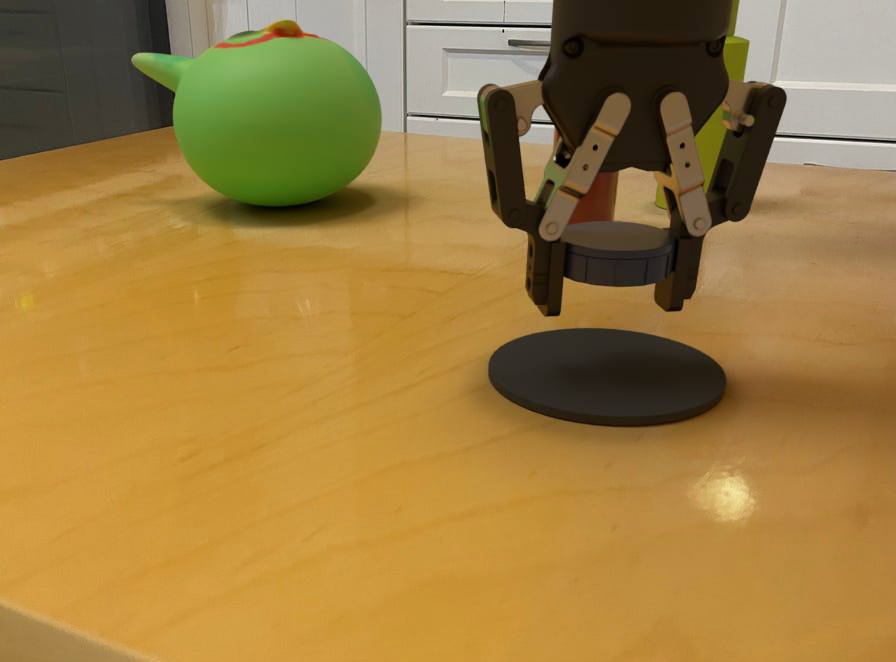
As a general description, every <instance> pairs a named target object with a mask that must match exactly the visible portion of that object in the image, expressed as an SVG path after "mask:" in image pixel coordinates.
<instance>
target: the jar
mask: <svg viewBox="0 0 896 662" xmlns="http://www.w3.org/2000/svg"><path fill="white" fill-rule="evenodd" d="M559 137H560V135H559V133H558V131H557V130H556V128H555V126H554V125H553V139H552V140H553V141H552V151H553V150H554V148H555V146H556V144H557V142H558V139H559ZM567 154H568V153H567ZM567 154H566V155H565V157H566V156H567ZM584 167H585V165H584V166H583V168H584ZM619 176H620V171H617V172H608V173H597V175H596V177H595V179H594V181H593V183H592V185H591V187H590V189H589V191H588V192H587V194H586V195H585V196H584V197H583V198H581V199H580V201H579V202H578V204H577V206H576V208H575V210H574V212H573V214H572V216H571V218H570V220H569V222H568V224H567V226H568V225H572V224H577V223H583V222H595V221H615V218H616V217H615V216H616V208H617V198H618V188H619V187H618V186H619V178H620V177H619Z"/></svg>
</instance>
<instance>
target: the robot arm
mask: <svg viewBox="0 0 896 662" xmlns="http://www.w3.org/2000/svg"><path fill="white" fill-rule="evenodd" d="M732 5H733V0H552V11H551V26H550V27H551V28H550V44H549V51H548V56H547V58H546V61H545V63H544V65H543V67H542V68H541V70H540V72H539V74H538V75H537V79H534V80H529V81H524V82H519V83H516V84H511V85H506V86H499V85H497V84H496V83H486V84H484V85H483V86H481V87H480V88H479V90H478V93H477V95H476V103H477V110H478V111H477V112H478V119H479V126H480V134H481V140H482V148H483V155H484V162H485V172H486V178H487V185H488V193H489V200H490V201H489V202H490V208H491V210H492V212H493V213H494V214H495V215H496V217H497V218H498V219H499V220H500V221H501V222H502V223H503V224H504V226H506V227H507V228H509V229H517V230H519V231H521V232H525V233H526V234H527V251H526V269H525V283H524V288H525V291H526V293H527V297H528V298H529V299H530V301H531V302H532V303H533V305H534V306H536V307H537V309H538V311H539V312H540V313H541V315H542V316H543V317H545V318H547V317H548V318H549V317H560V316H561V313H562V302H563V291H564V278H565V277H564V268H565V256H566V244H567V242H565V241H564V240H563V239H562V238H561V236H562V234H563V233H564V231H565V229H566V226H567V224H568V222H569V220H570V218H571V216H572V214H573V212H574V210H575V208H576V206H577V204H578V202H579V201H580V199H581V198H583V197H584V196H585V195H586V194H587V192H588V191H589V189H590V187H591V185H592V183H593V181H594V179H595V177H596V175H597V173H608V172H617V171H619V172H621V171H624V170H626V169H629V168H634V169H637V170H641V171H644V172H652V173H653V177H654V179H655V181H656V183H657V182H658V184H659V186H660V188H661V192H662V195H663V199H664V202H665V206H666V209H665V210H666V212H667V216H668V219H669V227H662V228H661V229H664V230H666V231H668V232H670V233H671V234H672V235H674V237H675V251H674V258H673V265H672V270H671V274H670V276H669V277H668V278H667V279H665V280H663V281H661V282H659V283H654V290H653V298H654V302H655V304H656V305H657V306H658V307H659V308H660V309H662V310H663V311H664V312H665V313H672V312H673V313H675V312H681V311H682V310H683V308H684V303H685V301H687V300H691V299H692V297H693V296H694V294H695V292H696V290H697V283H698V277H699V271H700V270H699V269H700V264H701V258H702V251H703V244H704V240H705V237H706V235H707V233H709V231H710V230H711V229H713V228H715V227H717V226H719V225H721V224H723V223H728V222H729V221H730V222H731V223H739V222H742V221H743V220H745V218H747V216H748V215H749V213H750V211H751V207H752V205H753V201H754V199H755V196H756V192H757V190H758V187H759V184H760V181H761V178H762V176H763V173H764V169H765V167H766V164H767V160H768V157H769V154H770V151H771V149H772V145H773V143H774V140H775V137H776V134H777V131H778V128H779V125H780V122H781V119H782V116H783V114H784V111H785V107H786V105H787V101H788V95H787V92H786V91H785V89H783V88H782V87H780V86H777V85H774V84H772V83H768V82H764V81H756V80H749V81H746V82H745V81H743V82H741V81H736V80H731V79H729V75H728V72H727V69H726V66H725V62H724V55H723V50H724V44H725V41H726V37H727V34H728V31H729V26H730V19H731V12H732ZM721 104H722V107H723V114H722V122H723V125H724V126H725V127H726V128H727V130H726V133H725V136H724V139H723V143H722V146H721V149H720V152H719V155H718V158H717V161H716V165H715V168H714V171H713V174H712V177H711V180H710V184H709V187H708V190H707V193H705V191H704V187H703V184H704V183H705V177H704V173H703V169H702V165H701V161H700V157H699V153H698V149H697V145H696V141H695V137H696V135H697V134H698V133H699V131H700V130H701V129H702V128H703V126H704V125H705V124H706V122H707V121H708V120H709V119H710V117H711V116H712V115H713V114H714V112H715V111H716V110H717V108H718V107H719V106H720V105H721ZM540 106H542V108H543V110H544V111H545V113H546V115H547V116H548V118H549V120H550V121H551V123H552V125H553V127H554V126H555V128H556V130H557V131H558V133H559V135H560V137H559V139H558V142H557V144H556V146H555V148H554V150H553V149H552V152H551V155H550V157H549V159H548V161H547V163H546V165H545V168H544V171H543V178H542V181H541V183H540V186H539V187H538V190H537V192H536V194H535V196H534V198H533V200H530V199H528V198H527V195H526V188H525V179H524V170H523V161H522V160H523V159H522V152H521V144H520V138H521V137H523V136H525V135H527V134H528V133H529V131H530V129H531V127H532V122H533V121H532V119H533V114H534V113H535V111H536V110H537V108H538V107H540ZM567 153H568V154H567ZM566 154H567V156H566V157H565V155H566ZM584 165H585V167H584V168H583V166H584Z"/></svg>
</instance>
